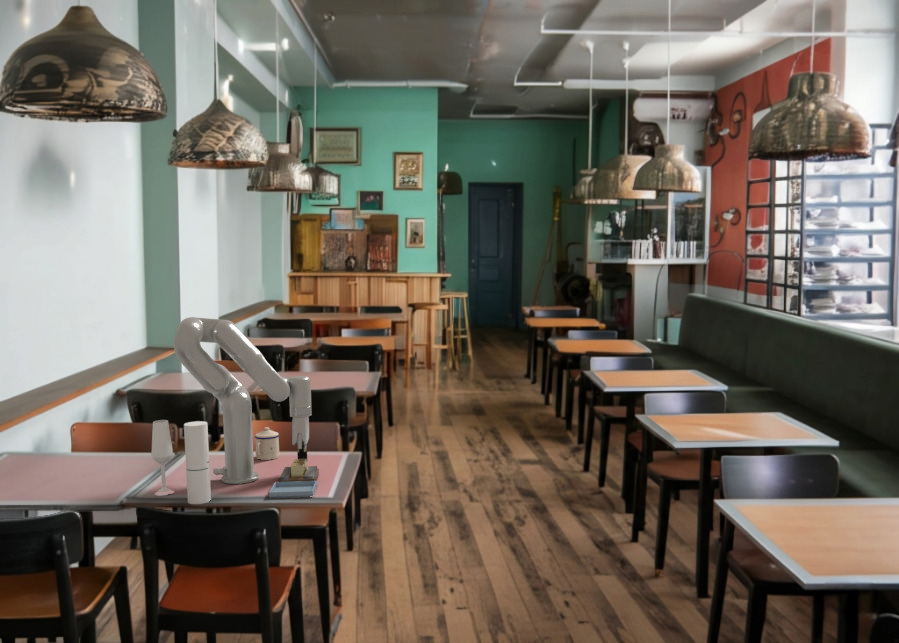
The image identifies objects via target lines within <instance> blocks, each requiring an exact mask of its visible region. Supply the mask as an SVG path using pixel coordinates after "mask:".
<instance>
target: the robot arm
mask: <svg viewBox="0 0 899 643" xmlns="http://www.w3.org/2000/svg"><path fill="white" fill-rule="evenodd" d="M201 343H212V344H217V345H218V347H220V348H221V349H222V350H223V351H224V352H225V353H226V354H227V355H228V356H229V358H231V359H232V361H234V362H235V364H236V365H238V367H239V368H240V369H241V370H242V371H243V372H244V373H245V374H247V376H248V377H249V378H251V379H252V380H253V382H255V384H256V385H257V386H258V387H259V388H260V389H261V390H262V391H263V392H264V393H265V395H267V396H268V397H269V398H270V399H271V400H273V401H275V402H283V401H285V400H286V399H288V397H289V417H290V418H292V420H291V422H292V423H291V424H292V425H291V426H292V427H291V428H292V429H291V430H292V431H291V432H292V433H291V436H292V437H291V438H292V440H291V442H292V444H291V445H292V446H295V445H296V447H297V448H296V449H297V459H306V460H307V461H308V449H307V446H308V442H309V439H310V422H309V421H310V418H309V417H310V416H312V415H313V414H312V413H313V412H312V410H313V409H312V390H311V389H312V387H311V385H312V384H311V379H310V377H309V376H307V375H294V376H282V375H280V374H279V373H278V372H277V371H276V370H275V369H274V368H273V366H272V365H271V364H270V363H269V362H268V361H267V360H266V358H265V356H264V355H263V353H262V352H261V351H260V349H258V348H257V347H256V345H255V344H254V343H253V342H251V340H249V339H248V337H247V336H245V334H244V333H243V332H242V331H241V330H240V329H239V328H238V327H237V325H236V324H235V323H234V322H233V321H231V320H229V319H219V318H218V319H217V318H208V317H207V318H205V317H204V318H203V317H193V316H191V317H186V318H184V319H182V320H181V321H180V323H179V324H178V327H177V329H176V332H175V335H174V339H173V349H174V353H175V356H176V358H177V359H178V361H179V362H180V363H181V365H182V366H184V368H185V369H186V370H187V371H188V372H189V374H190V375H191V376H192V377H193V378H194V379H195V380H196V381H197V382H198V383H199V384H200V385H201V387H203V389H204V390H205V391H206V392H208V393H210V394H212V395H213V396H214V397H215V398H216V399H217V400H218V401H219V402H220V403H221V405H222V419H223V420H222V421H223V424H222V425H223V440H224V441H223V442H224V444H223V445H224V458H225V459H224V462H225V463H224V464H225V466H223V467H221V468H220V467H214V468H213V470H212V471H213V474H214V475H215V476H221V475H222V476H221V482H222V483H224V484H230V485H231V484H232V485H238V484H239V485H240V484H246V483H252V482H254V481H255V482H256V481H257V480H258V479H259V477H260V474H259V473H257V472H255V465H254V464H255V461H254V441H253V418H252V416H253V415H252V414H253V412H252V410H253V408H252V407H253V405H252V400H251V399H252V398H251V395H250V393H249V391H248V389H246V387H244V385H242V383H241V382H240V381H239V380H238V379H237V378H236V377H235V376H234V375H233V374H232V373H231V371H229V369H227V367H226V366H224V365H222V364H220V363H217V362H216V361H215V360H214V359H213V358H212V357H211V356H210V355H209V354H208V353H207V351H206V350H205V349H204V348H203V347H202V345H201Z"/></svg>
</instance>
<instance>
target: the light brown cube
mask: <svg viewBox="0 0 899 643" xmlns="http://www.w3.org/2000/svg"><path fill="white" fill-rule="evenodd" d="M307 462H308V459H307V460H306V459H298V458H294V459H293V462H292V463H304V466H305V473H306V471H307V469H308V466H307V465H308V463H307Z"/></svg>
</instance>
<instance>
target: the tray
mask: <svg viewBox="0 0 899 643" xmlns="http://www.w3.org/2000/svg"><path fill="white" fill-rule="evenodd" d="M316 488H318V480H317V481H293V482H278V481H275V482H274V483H273V485H272V487H271V488H270V490H269V491H268V499H269V498H270V499H294V498H295V499H298V498H299V497H304V498H311V497H310V496H313V495H314V496H315V494H314V493H316V491H317V489H316ZM315 490H316V491H315ZM314 496H313V497H314Z"/></svg>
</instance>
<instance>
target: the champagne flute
mask: <svg viewBox="0 0 899 643" xmlns="http://www.w3.org/2000/svg"><path fill="white" fill-rule="evenodd" d="M151 434H152V437H151V438H152V439H151V458H152V459H153V460H154V461H155V462H156V463H157V464H158V465H160V470H161V471H160V472H161V473H160V474H161V488H159V489H158V490H157V491H159V492H166V491H169V490H170V488H168V487H167V484H166V467H165V465H166V464H167V463H168V462H169V461H170V460H171V459H172V457H173V455H174V450H173V445H172V438H171V432H170V425H169V420H167V419H159V420H154V421H153V422H152V433H151Z"/></svg>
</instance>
